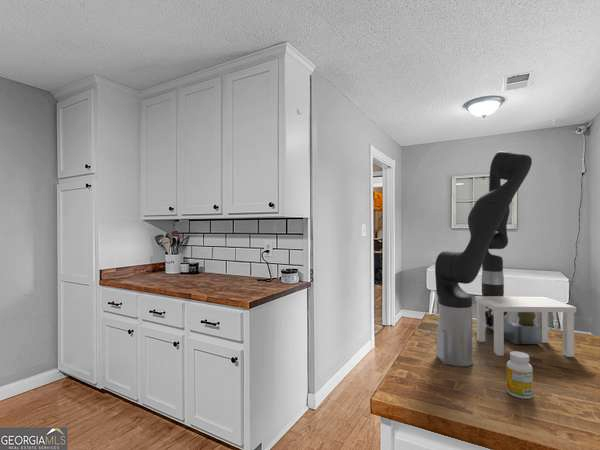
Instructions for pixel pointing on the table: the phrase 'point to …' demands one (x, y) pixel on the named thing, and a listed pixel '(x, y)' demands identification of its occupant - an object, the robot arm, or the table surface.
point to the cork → (526, 317)
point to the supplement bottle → (519, 375)
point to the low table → (524, 305)
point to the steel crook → (519, 332)
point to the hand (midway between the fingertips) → (492, 326)
